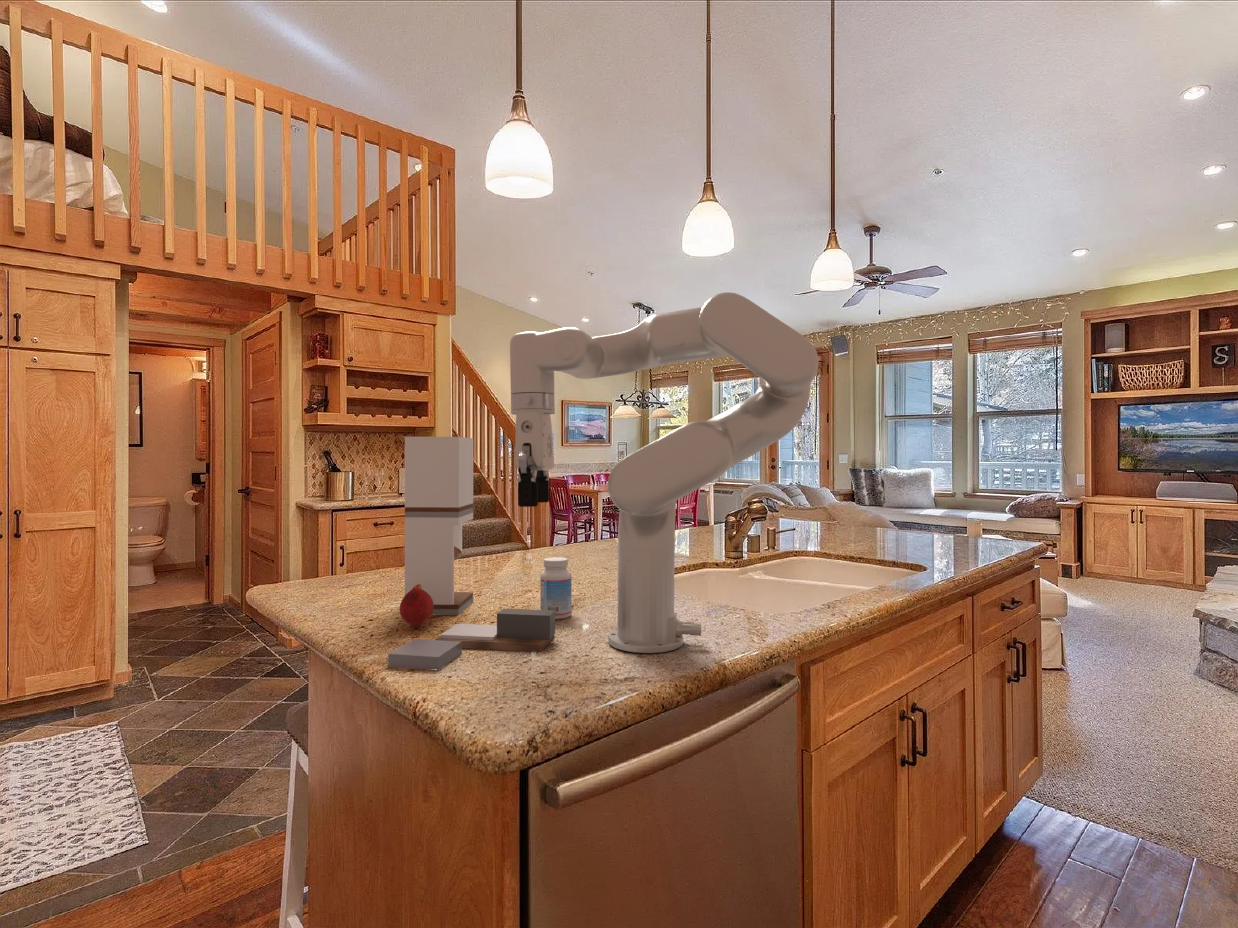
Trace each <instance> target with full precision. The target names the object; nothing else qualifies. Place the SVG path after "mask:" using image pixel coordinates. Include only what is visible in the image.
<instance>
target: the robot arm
mask: <svg viewBox="0 0 1238 928" xmlns="http://www.w3.org/2000/svg"><path fill="white" fill-rule="evenodd" d="M726 357H730V358H732V359H733V360H734V361H735V362H737V363H739V364H740V365H742V366H743V367H745V368H746V369H747V370H749V371H751V372H752V373H753V374H754V375H756V376H758V378H759V381H760V383H759V387H758V388H757V390H756V391H755V392H754V393H753V394H751V396H749V397H747V398H746V399H744V400H742V401H740V402H738V403H736V404H734V405H733V406H731V407H730V408H728V409H726V410H725V411H722V412H720V413H719V414H718V415H715V416H712V418H710V419H708V420H701V419H700V420H695V421H691V422H687V423H685V424H683V425H681V426H679V427H678V428H675V429H673V430H671V431H670V432H668V433H666V434H664V435H663V436H661V437H659V438H657V439H655V440H654V441H651V442H649V443H648V444H646V445H645V446H643V447H641V448H639V449H637V450H636V451H634V452H631V453H630V454H628V455H626V456H625V457H623V458H621V460H619V461H617V463H616V464H615V465H614V466H613V468H612V469H611V471H610V473H609V476H608V480H607V492H608V495H609V498H610V500H611V502H612V503H613V505H615V507H616V508H618V509H619V515H618V528H617V529H618V531H617V629H614V630H612V631H611V632H610V633H609V634H608V637H607V640H608V641H607V642H608V644H609V645H610V646H611V647H613V648H615V649H617V650H621V651H625V652H629V653H635V654H636V653H637V654H659V653H666V652H671V651H674V650H677V649H679V648H681V647H682V646H683V644H684V635H688V636H694V637H695V636H699V637H701V636H702V623H695V621H693V620H692V621H690V620H687V621H684V620H682V621H681V619H679V618H677V617H678V615H677V614H678V612H675V563H676V562H675V556H676V555H675V551H676V550H675V549H676V548H675V547H676V546H675V545H676V515H677V514H676V513H677V512H676V510H677V501H678V500H679V499H681V498H683V497H685V496H687V495H689V494H691V493H693V492H694V491H697V490H699V489H701V488H702V487H705V486H706V485H708V484H710V483H711V482H713V481H715V480H717V479H719V478H720V477H721V476H723V475H724V474H725V473H726V472H727V471H728V470H729V469H730V468H731V469H732V467H734V466H736V465H737V464H739V463H741V462H743V461H745V460H747V459H749V458H750V457H752V456H754V455H756V454H757V453H759V452H761V451H762V450H765V449H766V448H768V447H770V446H771V445H773V444H774V443H777V442H779V441H780V440H781V439H783V438H784V437H785V436H787V435H788V434H789V433H790V432H791V431H793V429H794V428H795V427H796V426H797V425H798V423H799V422H800V420H802V417H803V415H804V413H805V412H806V410H807V407H808V403H809V400H810V394H811V383H812V382H813V380H814V379H815V377H816V376H817V372H818V369H819V362H820V361H819V355H818V352H817V349H816V348H815V347H814V345H813V344H812V343H811V341H809V339H808V338H806V337H805V336H804V335H802V334H801V333H799V332H798V331H797V330H795V329H794V328H792V326H789V325H788V324H786V323H784V322H783V321H782V320H780V319H778V318H777V317H776V316H774V315H772V314H771V313H770V312H768V311H766V310H765V309H763V307H761V306H760V305H757V304H756V303H754V302H753V301H752V300H750V299H748V298H747V297H745V296H743V295H741V294H738V293H736V292H728V291H727V292H721V293H717V294H715V295H713V296H711V297H710V298H708V299H707V301H705V302H704V304H703V306H700V307H693V308H689V309H681V310H674V311H668V312H662V313H654V314H652V315H650V316H648V317H646V318H644V319H643V320H642V321H640V323H638V325H636V326H635V327H633V328H631V329H628V330H625V331H621V332H617V333H613V334H607V335H606V334H605V335H598V336H590V335H589V334H588V333H586V332H585V331H584V330H582V329H580V328H577V327H573V326H569V327H561V328H557V329H552V330H548V331H543V332H542V331H541V332H538V331H523V332H518V333H516V334H513V335H512V337H511V339H510V341H509V363H510V364H509V365H510V367H509V368H510V369H509V370H510V371H509V372H510V373H509V374H510V376H509V377H510V379H509V380H510V414H511V415H515V441H514V442H515V444H514V445H515V447H514V448H515V452H514V453H515V465H516V466H515V467H516V468H517V472H518V474H517V505H518V507H520V508H521V507H523V508H526V507H527V508H529V507H530V508H532V507H533V508H534V507H538V505H539V503H549V502H550V480H549V477H550V476H549V471H551V470H553V468H554V467H555V458H554V443H553V442H554V441H553V439H554V438H553V426H552V425H553V424H552V420H551V419H552V417H551V415H555V413H556V411H555V410H556V408H555V407H556V406H555V405H556V404H555V401H556V400H555V399H556V398H555V372H562V373H564V374H568V375H570V376H572V377H574V378H576V379H582V380H583V379H584V380H589V379H598V378H599V379H600V378H605V377H613V376H619V375H626V374H629V373H634V372H638V371H639V372H640V371H645V370H650V369H653V368H657V367H663V366H668V365H675V364H681V363H689V362H690V363H691V362H697V361H703V360H704V361H705V360H711V359H720V358H726Z"/></svg>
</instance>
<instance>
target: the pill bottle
mask: <svg viewBox="0 0 1238 928" xmlns="http://www.w3.org/2000/svg"><path fill="white" fill-rule="evenodd" d="M568 560H569V559H568V558H566V557H563V556H562V557H561V556H559V557H554V556H553V557H545V558H544V559H543V568H545V569H544V570H542V571H541V573H540V579H539V581H540V582H539V583H540V585H539V586H540V590H539V591H540V592H539V593H540V604H539V605H540V610H555V620H563V619H567V618H569V617H571V616H572V612H573V611H572V609H573V608H572V605H573V602H572V601H573V600H572V597H573V595H572V572H571V571H570V570H568V569H567V567H568V565H569V563H568V562H569V561H568Z"/></svg>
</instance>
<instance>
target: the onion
mask: <svg viewBox="0 0 1238 928" xmlns="http://www.w3.org/2000/svg"><path fill="white" fill-rule="evenodd" d="M433 608H434V604H433V600H432V598H431V596H430V595H429V594H428V593H427V592H426V591H424V590H422V589H421V585H420V584H419V583H418V584H415V586H414V587H413V589H412V590H411V591H409V592H408V593H407V594H406V595H405V594H404V596H403V598H402V599H401V602H400V604H399V612H400V616H401V618H402V620H403V621H404V622H405V623H407V624H408V625H410V627H413V628H415V629H419V628H421V626H423V624H425V623H426V622H427V621H428V620H429V619H430V618H431V617H432V612H433Z"/></svg>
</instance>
